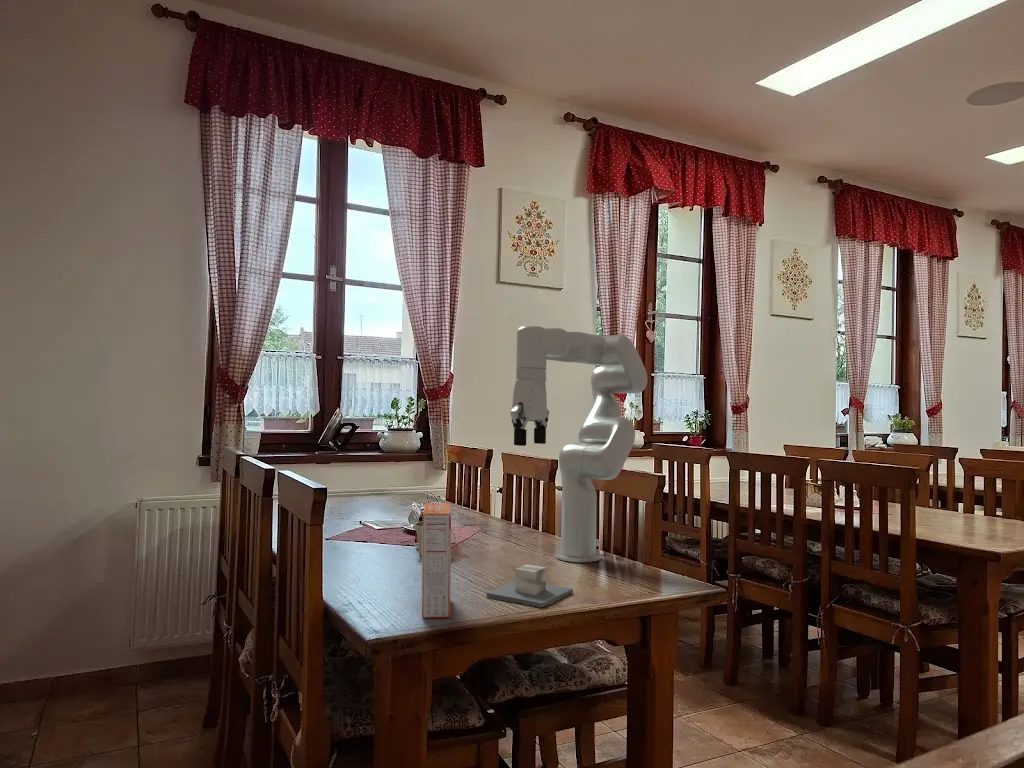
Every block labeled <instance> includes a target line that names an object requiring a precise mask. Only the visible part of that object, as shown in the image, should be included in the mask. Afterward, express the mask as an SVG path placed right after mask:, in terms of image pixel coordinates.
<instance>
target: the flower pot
mask: <svg viewBox="0 0 1024 768" xmlns="http://www.w3.org/2000/svg"><path fill="white" fill-rule="evenodd" d="M413 526H414V528H415V531H416V537H417V545H418V552H419V553H418V554H419V556H420V557H422V521H418V522H415V523H413Z"/></svg>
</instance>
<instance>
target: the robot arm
mask: <svg viewBox="0 0 1024 768" xmlns="http://www.w3.org/2000/svg"><path fill="white" fill-rule="evenodd" d="M547 361H554V362H563V363H576V364H585V365H592V366H593V365H594V366H597V367H596V368H595V369H593V371H592V373H591V376H590V377H591V378H590V383H591V384H590V385H591V390H592V397H593V405H592V407H591V410H590V411H589V413H588V414H587V416H586V418H585V420H584V421H583V422H582V425H581V427H580V429H579V432H578V441H579V442H572V443H568V444H565V445H564V446H563V447H562V448H561V449H560V452H559V455H558V465H559V470H560V477H561V528H560V530H561V532H560V535H561V537H560V538H561V541H560V542H561V543H560V550H557V551H556V552H555V554H554V555H555V558H556V559H558V560H561V561H563V562H564V561H565V562H569V563H593V561H594V562H598V561H600V560H601V559H602V554H601V552H599V551H596V550H597V547H598V546H600V545H601V542H600V541H601V540H599V539H598V538H597V495H598V494H597V491H596V488H595V486H594V484H593V482H592V479H593V480H605V481H609V480H611V481H612V480H613V479H616V478H617V477H618V475H619V474H620V473H621V471H622V469H623V467H624V465H625V463H626V461H627V459H628V457H629V455H630V452H631V451H632V449H633V446H634V443H635V440H636V429H635V426H634V424H633V422H632V421H631V420H630V419H628V418H626V417H622V416H621V414H622V411H621V410H622V409H621V407H620V405H619V402H618V401H617V400H616V399H615V397H614V395H613V394H640V393H642V392H643V391H644V390H645V389H646V388H647V386H648V385H647V384H648V373H647V370H646V367H645V366H644V363H643V360H642V358H641V357H640V354H639V353H638V350H637V347H636V346H635V345H634V343H633V342H632V340H631V339H630V338H629V337H628V336H626V335H624V334H612V335H609V334H608V335H597V334H595V333H594V334H593V333H587V332H582V331H567V330H566V329H563V328H561V327H560V328H559V327H550V328H549V327H548V328H547V327H542V326H537V325H525V326H520V327H519V328H518V329H517V331H516V362H515V363H516V369H515V371H516V373H515V374H516V375H515V382H514V386H513V387H514V388H513V394H512V408H511V410H510V417H511V423H512V428H513V445H514V446H519V447H520V446H522V447H525V446H527V429H526V427H527V424H528V422H533V424H534V426H535V427H534V428H533V443H534V444H537V445H538V444H540V445H545V444H546V443H547V428H548V422H549V415H550V410H549V409H548V407H547V406H548V403H547V402H548V401H547V400H548V399H547V398H548V397H547V385H546V383H547Z"/></svg>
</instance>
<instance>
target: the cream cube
mask: <svg viewBox="0 0 1024 768" xmlns="http://www.w3.org/2000/svg"><path fill="white" fill-rule="evenodd" d="M514 569H515V571H514V574H515V575H514V582H515V592H521V593H526V594H532V595H536V594H538V593H540V592H542V591H544V590H546V584H547V583H546V582H547V567H545V566H538V565H532V564H524V565H521V566H519V567H516V568H514Z"/></svg>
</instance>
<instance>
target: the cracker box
mask: <svg viewBox="0 0 1024 768" xmlns="http://www.w3.org/2000/svg"><path fill="white" fill-rule="evenodd" d="M451 508H452V507H451V503H448V502H447V503H446V502H445V503H443V502H441V503H440V502H427V503H424V507H423V512H422V521H421V522H422V556H421V617H422V619H447V618H449V619H450V618H451V599H452V598H451V594H452V593H451V590H452V589H451V584H452V581H451V579H452V576H451V575H452V567H451V566H452V510H451Z"/></svg>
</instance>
